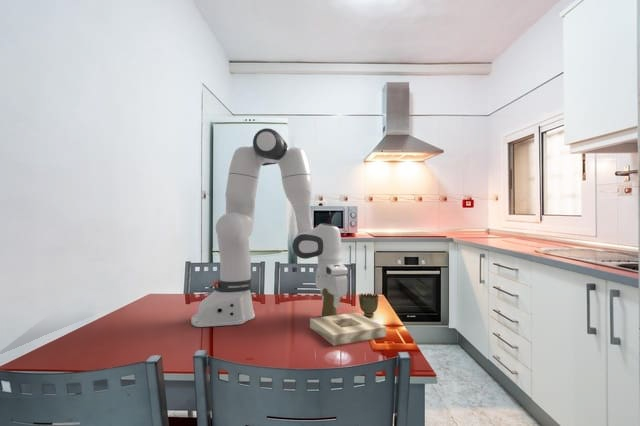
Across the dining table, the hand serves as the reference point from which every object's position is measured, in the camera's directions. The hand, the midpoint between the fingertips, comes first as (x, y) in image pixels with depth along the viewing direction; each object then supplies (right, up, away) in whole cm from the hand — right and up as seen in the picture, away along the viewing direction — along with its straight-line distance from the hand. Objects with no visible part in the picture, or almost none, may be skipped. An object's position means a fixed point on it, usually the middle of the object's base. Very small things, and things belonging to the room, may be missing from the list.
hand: (330, 304), depth 124 cm
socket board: (+5, -4, -16) cm, 18 cm away
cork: (0, -5, 0) cm, 5 cm away
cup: (+14, -5, +1) cm, 15 cm away
